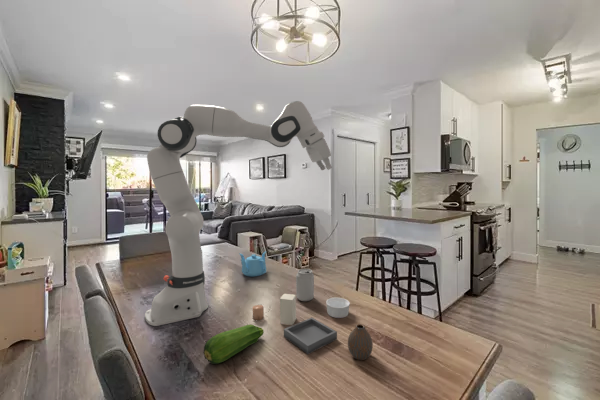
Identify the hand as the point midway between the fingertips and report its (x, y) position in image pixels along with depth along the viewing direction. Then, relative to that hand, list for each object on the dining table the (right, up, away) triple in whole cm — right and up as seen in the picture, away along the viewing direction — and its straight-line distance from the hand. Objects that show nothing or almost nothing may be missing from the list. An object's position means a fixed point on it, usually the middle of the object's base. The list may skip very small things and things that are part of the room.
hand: (326, 169), depth 117 cm
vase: (+6, -57, -36) cm, 68 cm away
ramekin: (+3, -56, -11) cm, 57 cm away
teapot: (-37, -52, +36) cm, 73 cm away
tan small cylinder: (-26, -56, -14) cm, 63 cm away
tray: (-8, -57, -27) cm, 63 cm away
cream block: (-15, -56, -16) cm, 60 cm away
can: (-9, -55, +3) cm, 55 cm away
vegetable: (-30, -58, -33) cm, 73 cm away
